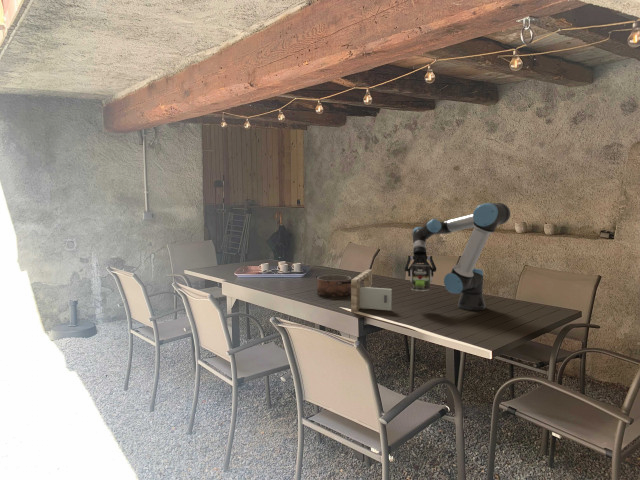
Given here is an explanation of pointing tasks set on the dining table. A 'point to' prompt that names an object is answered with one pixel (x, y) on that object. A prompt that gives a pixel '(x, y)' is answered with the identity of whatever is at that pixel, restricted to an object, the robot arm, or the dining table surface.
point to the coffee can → (420, 277)
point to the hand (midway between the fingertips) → (421, 280)
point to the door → (375, 298)
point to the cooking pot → (333, 285)
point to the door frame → (356, 288)
